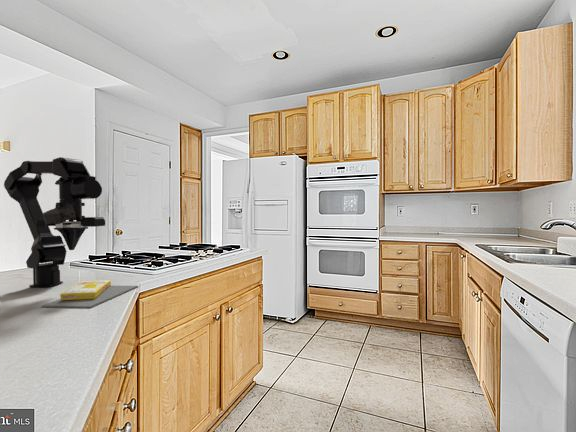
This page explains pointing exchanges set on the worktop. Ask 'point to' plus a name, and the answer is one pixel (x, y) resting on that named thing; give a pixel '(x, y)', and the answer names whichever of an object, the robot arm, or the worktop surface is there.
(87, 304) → the mat
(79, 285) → the candy box
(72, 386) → the worktop surface
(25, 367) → the worktop surface
